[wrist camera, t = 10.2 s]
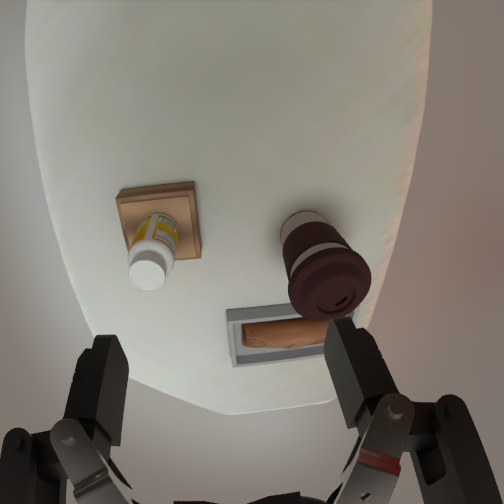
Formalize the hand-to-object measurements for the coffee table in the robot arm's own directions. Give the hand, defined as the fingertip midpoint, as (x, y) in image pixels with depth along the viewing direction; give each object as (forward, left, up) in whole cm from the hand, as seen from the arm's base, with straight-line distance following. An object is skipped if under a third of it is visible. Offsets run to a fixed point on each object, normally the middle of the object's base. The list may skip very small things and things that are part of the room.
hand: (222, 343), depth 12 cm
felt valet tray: (+35, +11, -32) cm, 49 cm away
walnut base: (+11, -8, -32) cm, 35 cm away
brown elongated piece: (+34, +11, -32) cm, 48 cm away
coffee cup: (+15, +12, -32) cm, 38 cm away
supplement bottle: (+11, -8, -29) cm, 32 cm away
